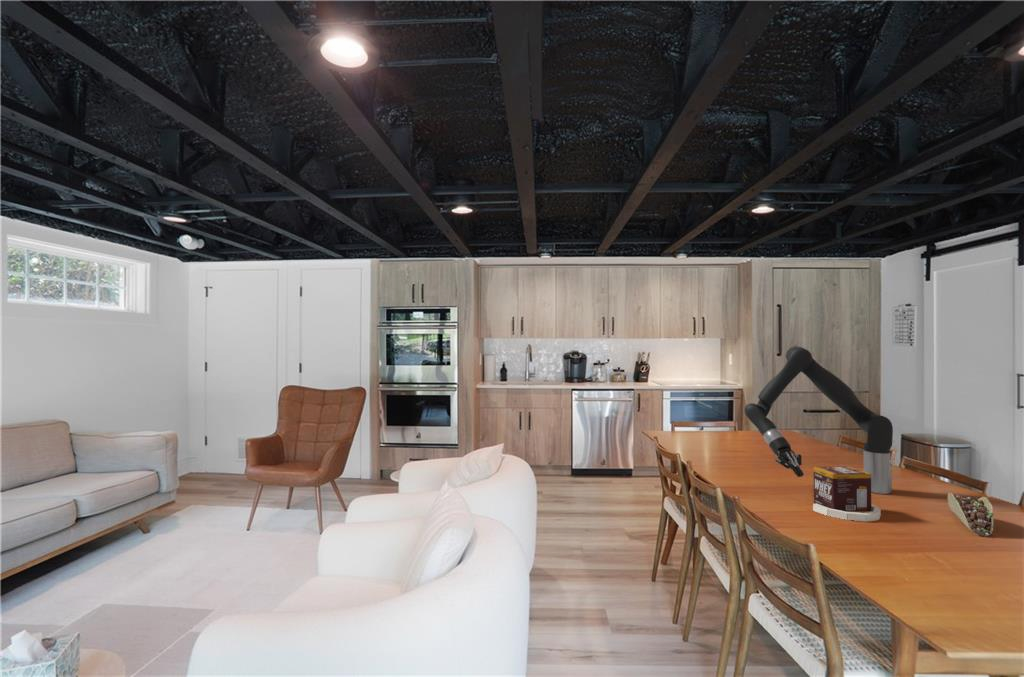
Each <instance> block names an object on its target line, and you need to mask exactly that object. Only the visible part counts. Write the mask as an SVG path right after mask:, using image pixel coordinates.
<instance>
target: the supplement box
mask: <svg viewBox="0 0 1024 677" xmlns="http://www.w3.org/2000/svg"><path fill="white" fill-rule="evenodd" d="M871 503H872V492H871V474H870V473H867V472H864V470H861V469H857V468H855V467H851V466H821V467H820V466H819V467H818V466H814V467H813V504H819V505H822V506H825V507H828V508H831V509H836V510H841V511H846V512H858V513H865V512H871Z"/></svg>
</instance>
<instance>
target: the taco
mask: <svg viewBox="0 0 1024 677" xmlns="http://www.w3.org/2000/svg"><path fill="white" fill-rule="evenodd" d="M947 503H948V506H949V509H950V510H951V512H952V513H953V514H955V516H956V517H957V518H958V519H959V520H960V521H961V522H962V523H963V524H964V526H966V528H967V529H968V530H970V531H971V532H972V533H973V534H974V535H975V536H980V537H988V536H991V534H992V533H993V531H994V523H995V522H994V521H995V520H994V519H995V515H994V508H993V505H992V503H991V502H990V501H989V499H988V497H986V496H981V497H980V498H979V497H971V496H968V497H964V496H961V495H956V496H954V494H953V493H951V492H948V493H947Z"/></svg>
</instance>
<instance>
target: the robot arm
mask: <svg viewBox="0 0 1024 677" xmlns="http://www.w3.org/2000/svg"><path fill="white" fill-rule="evenodd" d="M785 359H786V362H785V364H784V366H783V368H782V369H781V370H780V371H779V372H778V373H777V374H776V375H775V376H774V377H772V379H770V381H768V382H767V384H766V385H765V386H764V387H763V389H762V390H760V392H759V393H758V395H757V396H758V397H757V398H758V399H759V400H758V401H757V403H754V402H753V403H750V402H749V403H748V404H746V405H745V406H744V414H745V416H746V417H747V419H748V420H749V421H750V422H751V423H752V425H754V426H755V427H756V428H757V429H758V431H759V433H760V434H761V436H762V437H763V438H764V441H765V443H766V444H767V445H768V447H769V448H770V449H771V451H772V453H773V455H776V457H775V459H774V460H775V462H777V463H778V464H780V465H781V466H783V467H784V468H786V469H787V470H789V469H790V470H792V471H793V472H794V474H795V476H797V478H801V477H803V476H805V475H804V472H803V470H802V468H801V467H800V466H802V464H803V462H802V455H801V454H797V453H795V451H793V450H792V448H791V444H790V443H789V442H788V440H787V439H786V437H785V435H783V433H782V432H781V431H780V430H779V429H778V427H777V426H776V425H775V423H774V422H773V421H772V420H771V419H770V418H768V417H767V416H768V415H769V413H770V411H771V409H772V406H773V404H774V403H775V402H776V401H777V400H778V398H779V397H780V395H781V394H782V393H783V392H784V390H786V388H787V387H788V385H790V383H792V381H793V380H794V379H795V378H796V377H797V376H798V375H799V374H800V373H803V375H805V376H806V377H807V378H808V379H809V381H811V382H812V384H814V386H815V387H816V388H817V389H818V390H819V391H820V392H821V393H822V394H823V395H824V396H826V398H827V399H829V401H831V402H832V403H833V404H834V405H836V406H837V407H839V409H841V410H843V411H844V412H845V413H846V414H848V415H849V416H850V417H851V419H852V420H853V421H854V423H856V424H857V425H858V426H859V428H861V429H862V431H864V432H865V433H867V440H866V442H865V443H863V445H862V446H863V447H862V448H863V449H862V450H863V456H862V457H863V471H864V472H867V473H870V474H871V493H874V494H883V495H887V494H891V492H892V491H893V489H892V488H893V487H892V486H893V480H892V479H893V478H892V476H893V474H892V473H893V472H892V469H891V448H892V446H893V436H894V427H893V423H892V421H891V420H890V419H889V418H888V417H886V416H884V415H880V414H877V413H875V412H874V411H872V410H871V409H869V408H868V407H867V406H865V404H863V403H862V402H861V401H860V400H859V399H858V396H857V395H856V393H855V392H854V391H853V390H852V388H851V387H849V385H847V383H845V382H844V381H843V380H842V379H841V378H839V377H838V376H836V375H835V374H833V372H831V371H829V370H827V369H826V368H825V367H823V366H822V365H820V363H818V362H817V361H816V360H815V358H813V356H812V353H811V352H810V350H809V349H806V348H804V347H802V346H792V347H789V349H787V351H786V353H785Z"/></svg>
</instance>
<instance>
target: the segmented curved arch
mask: <svg viewBox="0 0 1024 677" xmlns="http://www.w3.org/2000/svg"><path fill="white" fill-rule="evenodd" d="M812 511H814V512H816V513H819V514H820V515H821V514H822V515H823V514H824V515H823V516H826V515H827V516H826V517H830V516H831V518H835V517H836V519H839V518H840V520H844V519H845V521H851V520H854V521H853V522H855V521H856V522H867V523H869V522H875V521H879V520H880V518H881V511H882V510H881V508H880V507H878V506H877V505H875V504H873V503H872V502H871V512H865V513H858V512H846V511H841V510H836V509H831V508H828V507H825V506H822V505H819V504H814V503H813V504H812Z"/></svg>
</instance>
